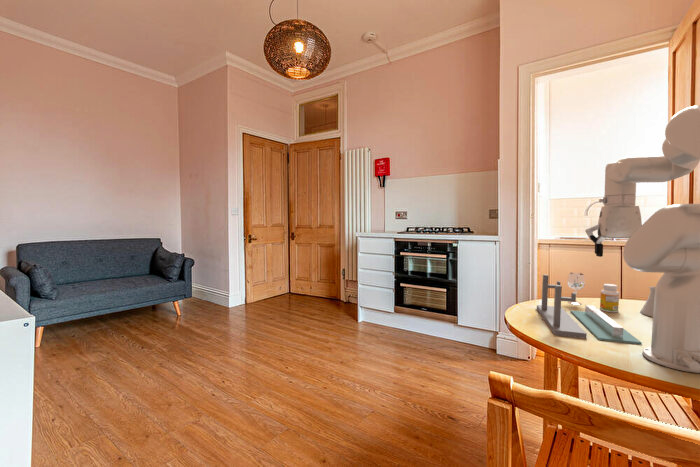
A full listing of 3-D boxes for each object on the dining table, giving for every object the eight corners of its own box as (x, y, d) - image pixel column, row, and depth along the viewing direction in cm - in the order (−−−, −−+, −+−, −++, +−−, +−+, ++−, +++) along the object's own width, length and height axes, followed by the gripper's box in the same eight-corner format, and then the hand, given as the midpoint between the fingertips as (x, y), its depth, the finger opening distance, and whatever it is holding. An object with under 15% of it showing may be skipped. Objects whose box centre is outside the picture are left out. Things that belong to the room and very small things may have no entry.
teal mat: (641, 344, 92) (641, 342, 92) (598, 339, 96) (598, 337, 95) (603, 314, 118) (603, 313, 118) (570, 311, 122) (570, 310, 122)
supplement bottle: (599, 307, 127) (601, 282, 127) (617, 310, 124) (619, 284, 124) (600, 311, 123) (601, 285, 122) (618, 313, 120) (620, 287, 119)
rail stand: (586, 338, 97) (588, 291, 96) (554, 335, 99) (556, 288, 98) (561, 311, 123) (562, 273, 122) (536, 308, 126) (538, 272, 125)
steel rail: (622, 338, 95) (623, 328, 95) (612, 337, 96) (613, 327, 96) (593, 313, 118) (593, 305, 118) (585, 313, 119) (585, 304, 118)
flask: (673, 319, 114) (675, 290, 113) (649, 317, 116) (650, 289, 115) (658, 312, 121) (660, 285, 121) (635, 311, 123) (637, 284, 122)
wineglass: (584, 303, 133) (586, 273, 133) (582, 306, 129) (584, 275, 128) (568, 300, 137) (569, 271, 137) (565, 303, 133) (566, 273, 132)
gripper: (591, 201, 102) (589, 257, 102) (661, 200, 97) (658, 259, 97) (582, 202, 109) (580, 254, 109) (647, 202, 104) (645, 256, 104)
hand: (617, 256), depth 103 cm, fingers open, 9 cm apart
